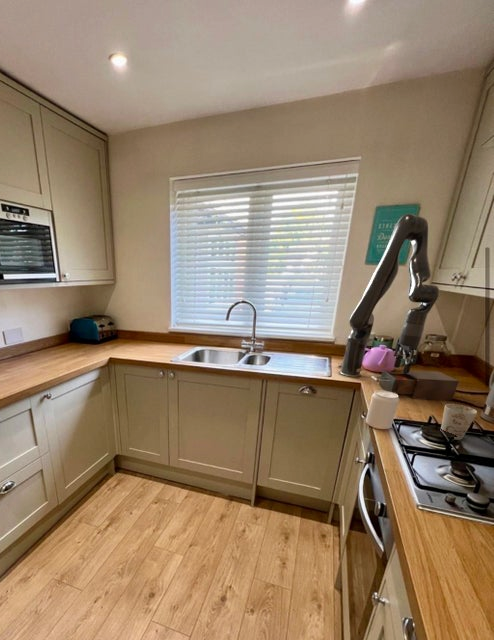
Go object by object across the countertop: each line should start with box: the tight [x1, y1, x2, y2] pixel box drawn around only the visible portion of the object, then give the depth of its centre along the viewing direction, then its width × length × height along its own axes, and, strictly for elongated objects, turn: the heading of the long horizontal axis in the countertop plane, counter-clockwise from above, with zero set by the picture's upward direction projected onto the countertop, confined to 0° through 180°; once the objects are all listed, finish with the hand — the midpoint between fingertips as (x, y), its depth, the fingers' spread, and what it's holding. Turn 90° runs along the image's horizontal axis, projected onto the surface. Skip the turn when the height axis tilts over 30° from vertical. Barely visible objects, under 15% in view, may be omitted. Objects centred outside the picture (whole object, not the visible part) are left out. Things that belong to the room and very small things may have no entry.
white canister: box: [365, 390, 400, 430], centre depth 116 cm, size 8×8×12 cm
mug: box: [440, 403, 478, 441], centre depth 111 cm, size 8×13×10 cm, turn 135°
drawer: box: [370, 371, 417, 395], centre depth 150 cm, size 21×12×7 cm, turn 83°
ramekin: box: [394, 376, 407, 389], centre depth 150 cm, size 6×6×5 cm
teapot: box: [362, 344, 402, 373], centre depth 181 cm, size 22×22×14 cm
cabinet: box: [401, 369, 460, 401], centre depth 149 cm, size 16×14×9 cm
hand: (400, 370), depth 147 cm, fingers open, 8 cm apart
